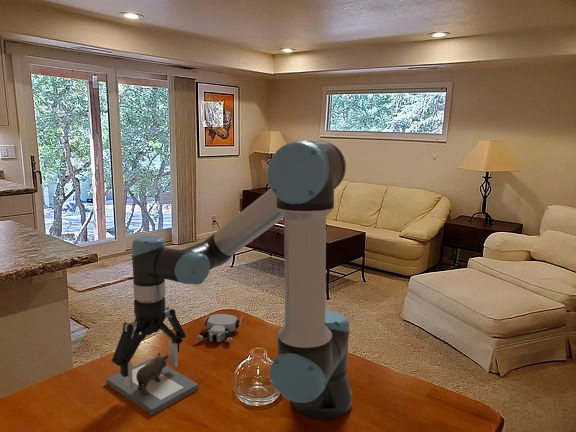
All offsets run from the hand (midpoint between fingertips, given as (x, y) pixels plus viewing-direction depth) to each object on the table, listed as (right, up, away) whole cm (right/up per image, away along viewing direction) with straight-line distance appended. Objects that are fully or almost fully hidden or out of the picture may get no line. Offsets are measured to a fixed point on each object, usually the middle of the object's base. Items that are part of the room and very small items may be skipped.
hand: (151, 375), depth 113 cm
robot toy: (+13, +2, +31) cm, 34 cm away
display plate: (0, -3, +1) cm, 3 cm away
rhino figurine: (+1, -2, +1) cm, 2 cm away
